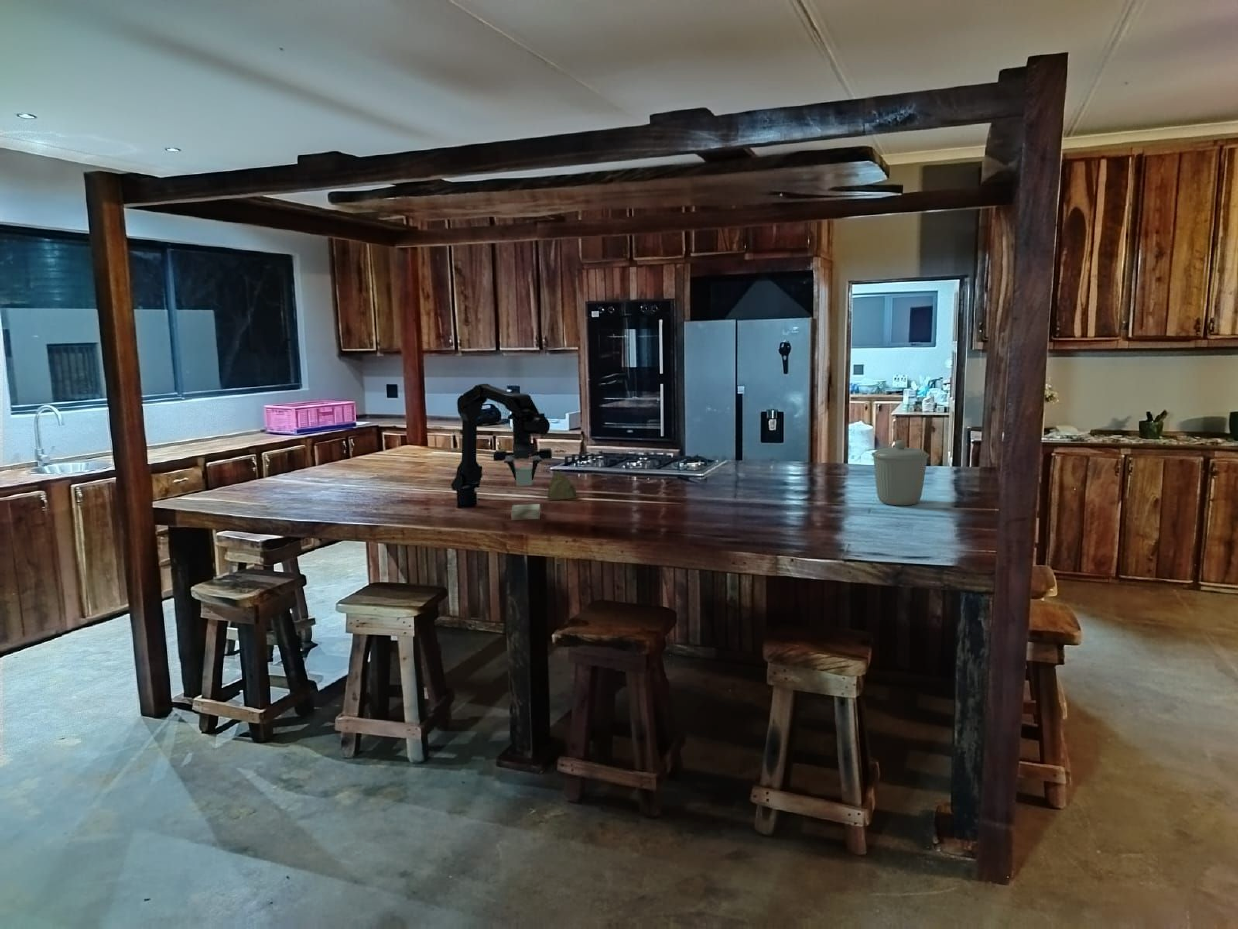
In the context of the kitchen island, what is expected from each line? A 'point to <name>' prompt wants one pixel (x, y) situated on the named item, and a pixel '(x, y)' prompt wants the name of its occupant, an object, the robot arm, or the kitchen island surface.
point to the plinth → (525, 512)
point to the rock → (561, 488)
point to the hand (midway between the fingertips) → (524, 480)
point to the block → (523, 476)
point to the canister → (899, 474)
